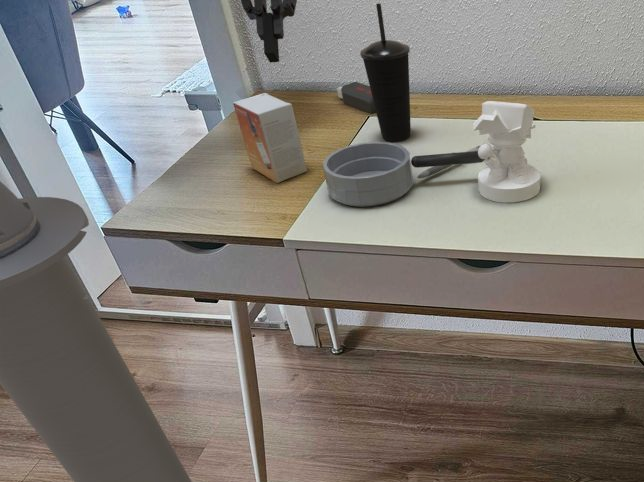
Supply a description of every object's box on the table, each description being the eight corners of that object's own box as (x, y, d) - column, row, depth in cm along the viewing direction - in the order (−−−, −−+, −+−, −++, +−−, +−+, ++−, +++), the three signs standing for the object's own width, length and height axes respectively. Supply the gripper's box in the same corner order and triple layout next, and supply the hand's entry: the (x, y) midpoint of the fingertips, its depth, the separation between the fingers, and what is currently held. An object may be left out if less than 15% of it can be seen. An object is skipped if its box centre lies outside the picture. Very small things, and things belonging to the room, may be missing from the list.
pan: (324, 212, 86) (317, 181, 83) (334, 173, 96) (328, 145, 93) (412, 205, 86) (408, 174, 83) (413, 167, 96) (410, 138, 93)
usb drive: (371, 113, 114) (369, 98, 113) (334, 100, 121) (331, 85, 120) (393, 105, 117) (391, 90, 115) (356, 92, 124) (354, 78, 122)
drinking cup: (398, 149, 101) (379, 12, 88) (364, 140, 105) (341, 7, 92) (428, 132, 106) (414, 0, 93) (395, 124, 109) (377, -4, 96)
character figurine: (468, 197, 87) (462, 110, 79) (494, 168, 93) (491, 86, 86) (528, 206, 84) (528, 117, 76) (550, 176, 90) (553, 91, 82)
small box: (251, 169, 99) (231, 101, 92) (283, 157, 102) (265, 91, 95) (276, 184, 94) (256, 114, 87) (308, 171, 97) (291, 102, 90)
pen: (487, 152, 98) (486, 144, 97) (420, 184, 91) (419, 175, 90) (482, 151, 98) (482, 142, 98) (415, 182, 91) (414, 173, 91)
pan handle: (411, 170, 89) (410, 159, 88) (411, 165, 90) (410, 154, 89) (486, 163, 89) (485, 153, 87) (485, 159, 90) (484, 148, 89)
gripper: (310, -70, 104) (319, 66, 102) (231, -63, 104) (239, 73, 102) (297, -107, 96) (306, 40, 94) (213, -99, 96) (221, 47, 94)
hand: (271, 57), depth 98 cm, fingers closed
